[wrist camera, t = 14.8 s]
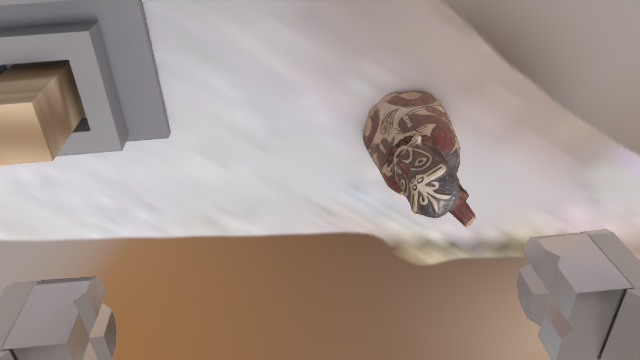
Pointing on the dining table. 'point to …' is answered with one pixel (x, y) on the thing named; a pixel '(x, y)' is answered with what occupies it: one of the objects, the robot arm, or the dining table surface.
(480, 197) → the dining table surface
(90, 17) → the socket board
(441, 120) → the figurine
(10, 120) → the wood plug
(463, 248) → the dining table surface
